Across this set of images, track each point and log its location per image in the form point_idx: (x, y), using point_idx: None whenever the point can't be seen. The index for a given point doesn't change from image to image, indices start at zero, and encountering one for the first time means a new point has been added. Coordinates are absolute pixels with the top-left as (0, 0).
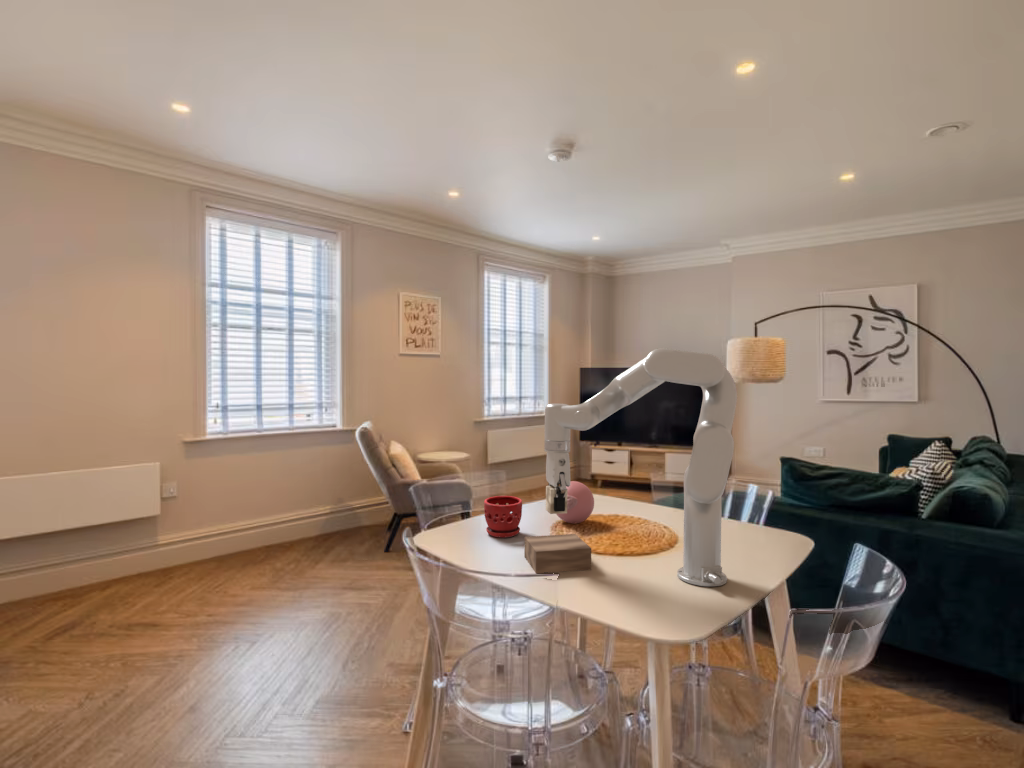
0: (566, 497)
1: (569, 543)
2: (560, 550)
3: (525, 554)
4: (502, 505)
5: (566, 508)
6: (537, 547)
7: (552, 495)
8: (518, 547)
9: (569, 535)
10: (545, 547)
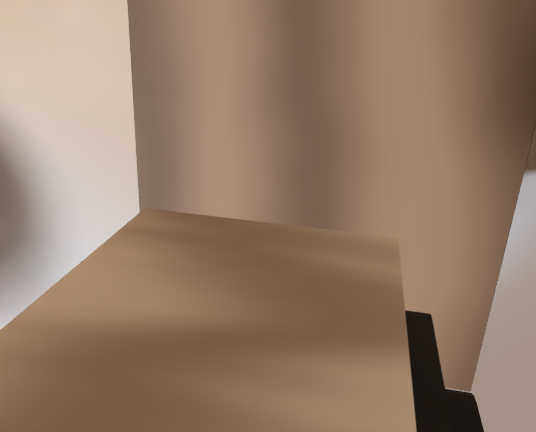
0: (409, 429)
1: (373, 102)
2: (507, 234)
3: None
4: None
5: (400, 284)
6: None
7: None
8: (44, 252)
9: (160, 14)
10: (408, 307)
